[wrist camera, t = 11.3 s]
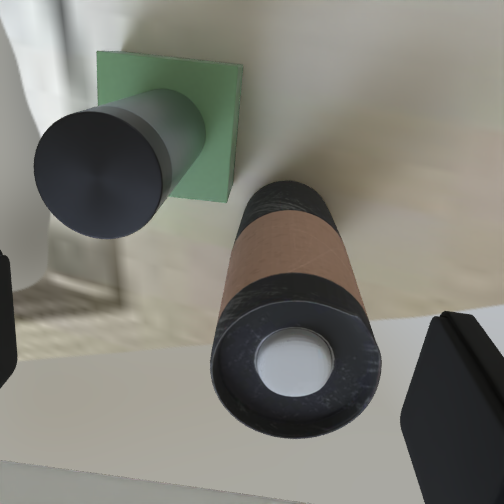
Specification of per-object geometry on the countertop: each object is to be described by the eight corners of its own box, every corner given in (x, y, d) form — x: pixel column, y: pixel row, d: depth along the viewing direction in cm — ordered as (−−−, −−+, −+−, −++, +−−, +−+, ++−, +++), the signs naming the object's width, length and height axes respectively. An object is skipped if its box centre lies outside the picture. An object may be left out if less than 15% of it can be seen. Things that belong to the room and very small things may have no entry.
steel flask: (141, 73, 30) (53, 86, 18) (218, 112, 31) (182, 148, 19) (114, 149, 32) (18, 206, 20) (186, 184, 33) (136, 259, 21)
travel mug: (231, 253, 40) (192, 423, 22) (250, 166, 37) (226, 277, 19) (318, 273, 41) (353, 456, 22) (344, 188, 38) (410, 319, 19)
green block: (120, 51, 34) (96, 50, 30) (243, 64, 34) (238, 66, 30) (121, 172, 38) (99, 189, 33) (232, 184, 38) (226, 203, 33)
